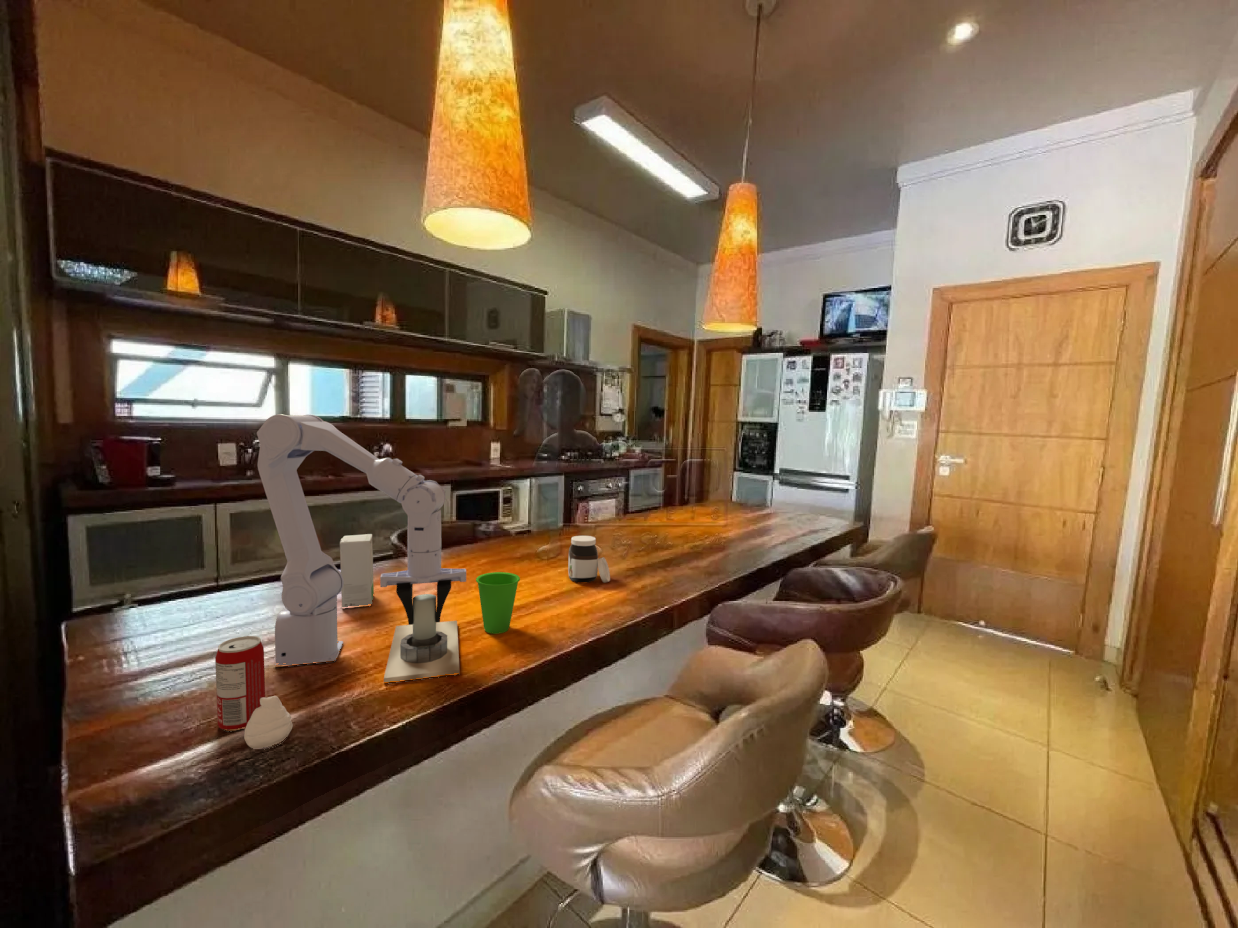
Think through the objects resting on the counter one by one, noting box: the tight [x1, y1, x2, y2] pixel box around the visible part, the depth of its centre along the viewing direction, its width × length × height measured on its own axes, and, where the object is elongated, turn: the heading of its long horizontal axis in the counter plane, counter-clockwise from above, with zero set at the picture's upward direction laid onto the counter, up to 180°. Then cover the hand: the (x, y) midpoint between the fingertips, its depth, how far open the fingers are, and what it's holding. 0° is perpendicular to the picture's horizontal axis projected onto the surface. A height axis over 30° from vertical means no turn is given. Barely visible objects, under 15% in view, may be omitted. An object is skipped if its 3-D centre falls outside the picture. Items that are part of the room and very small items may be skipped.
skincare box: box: [339, 533, 375, 608], centre depth 120 cm, size 8×7×16 cm
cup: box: [475, 571, 521, 635], centre depth 108 cm, size 9×9×11 cm
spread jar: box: [567, 535, 611, 583], centre depth 143 cm, size 12×11×12 cm
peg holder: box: [383, 620, 460, 683], centre depth 97 cm, size 12×22×4 cm, turn 19°
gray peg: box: [412, 593, 437, 640], centre depth 94 cm, size 4×4×7 cm
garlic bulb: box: [243, 695, 294, 749], centre depth 70 cm, size 6×6×5 cm
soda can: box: [214, 635, 266, 730], centre depth 73 cm, size 6×6×12 cm
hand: (424, 621), depth 94 cm, fingers closed on gray peg, 4 cm apart
